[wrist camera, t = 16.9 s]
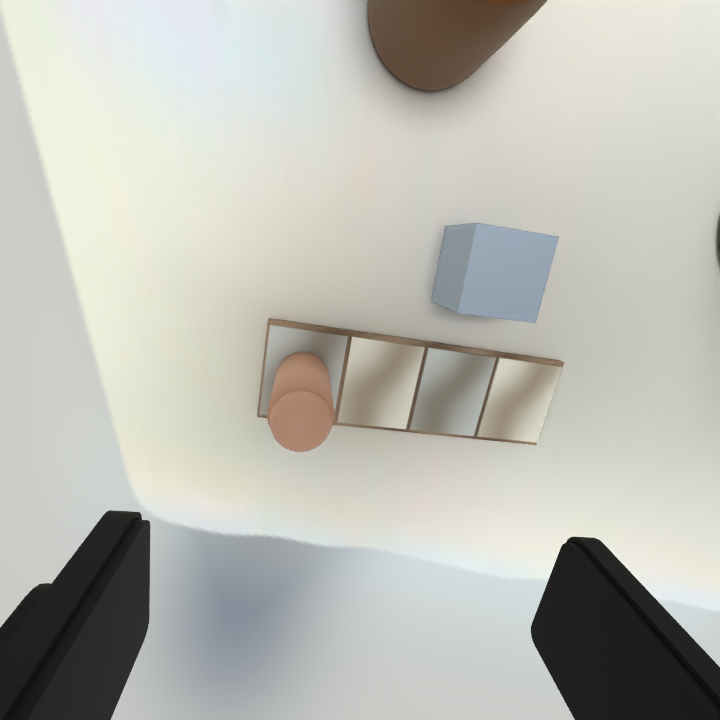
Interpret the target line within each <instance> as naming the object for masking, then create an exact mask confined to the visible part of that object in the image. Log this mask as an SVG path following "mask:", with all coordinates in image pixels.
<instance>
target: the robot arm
mask: <svg viewBox="0 0 720 720" xmlns="http://www.w3.org/2000/svg"><path fill="white" fill-rule="evenodd" d="M149 586H150V522H149V521H148V520H142V517H141V514H140V513H139V512H128V511H108V512H106V513H105V514H104V515H103V517H102V518H101V519H100V521H99V522H98V523H97V525H96V526H95V527H94V529H93V530H92V531H91V532H90V534H89V535H88V537H87V538H86V539H85V540H84V542H83V543H82V544H81V546H80V547H79V548H78V550H77V551H76V552H75V554H74V555H73V556H72V558H71V559H70V560H69V561H68V563H67V564H66V566H65V567H64V568H63V569H62V571H61V572H60V573H59V575H58V576H57V577H56V579H55V580H54V581H53V583H52V584H49V583H47V584H46V583H45V584H39V585H38V586H37V587H35V588H33V589H32V590H31V591H30V592H29V594H28V595H27V596H26V597H25V598H24V599H23V600H22V601H21V603H20V604H19V605H18V606H17V608H16V609H15V610H14V611H13V613H12V614H11V615H10V616H9V618H8V619H7V620H6V621H5V623H4V624H3V625H2V627H1V628H0V720H111V717H112V715H113V712H114V710H115V708H116V705H117V703H118V700H119V698H120V696H121V693H122V691H123V689H124V686H125V684H126V682H127V679H128V677H129V674H130V672H131V670H132V668H133V665H134V663H135V660H136V658H137V656H138V653H139V651H140V648H141V646H142V644H143V641H144V639H145V636H146V632H147V629H148V624H149V588H150V587H149ZM531 635H532V639H533V642H534V644H535V647H536V648H537V650H538V652H539V654H540V656H541V658H542V660H543V661H544V663H545V665H546V667H547V669H548V670H549V673H550V674H551V676H552V678H553V680H554V682H555V683H556V685H557V687H558V689H559V691H560V693H561V695H562V696H563V698H564V700H565V702H566V704H567V706H568V708H569V710H570V711H571V713H572V715H573V717H574V719H575V720H720V667H719V666H718V665H717V664H716V663H715V662H714V661H713V660H712V659H711V658H710V656H709V655H708V654H707V653H706V652H705V651H704V650H703V649H702V648H701V647H700V646H699V645H698V644H697V643H696V642H695V640H694V639H693V638H692V637H691V636H690V635H689V634H688V633H687V632H686V631H685V630H684V629H683V628H682V627H681V626H680V625H679V623H677V621H676V620H675V619H674V618H673V617H672V616H671V615H670V614H669V613H668V612H667V611H666V610H665V609H664V608H663V607H662V605H661V604H660V603H659V602H658V601H657V600H656V599H655V598H654V597H653V596H652V595H651V594H650V593H649V592H648V591H647V589H646V588H645V587H644V586H643V585H642V584H641V583H640V582H639V581H638V580H637V579H636V578H635V577H634V576H633V575H632V574H631V573H630V571H629V570H628V569H627V568H626V567H625V566H624V565H623V564H622V563H621V562H620V561H619V560H618V559H617V558H616V557H615V556H614V554H613V553H612V552H611V551H610V550H609V549H608V548H607V547H606V546H605V545H604V544H603V543H602V542H601V541H600V540H598V539H596V538H586V537H571V538H569V539H568V540H567V542H566V543H565V544H563V545H562V547H561V549H560V552H559V554H558V557H557V560H556V562H555V565H554V567H553V570H552V573H551V575H550V578H549V581H548V583H547V586H546V588H545V591H544V594H543V596H542V599H541V601H540V604H539V607H538V609H537V612H536V615H535V617H534V620H533V622H532V626H531Z"/></svg>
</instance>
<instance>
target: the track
mask: <svg viewBox="0 0 720 720" xmlns="http://www.w3.org/2000/svg"><path fill="white" fill-rule="evenodd" d="M296 352H309V353H313V354H315V355H317V356H318V357H320V358H321V359H322V360H323V361H324V362H325V364H326V366H327V368H328V371H329V378H330V384H331V391H332V398H333V404H334V411H335V417H334V422H333V425H343V426H353V427H363V428H373V429H383V430H393V431H403V432H413V433H423V434H433V435H443V436H453V437H463V438H473V439H483V440H493V441H503V442H513V443H523V444H533V445H536V444H537V442H538V439H539V436H540V433H541V430H542V427H543V424H544V421H545V418H546V415H547V412H548V409H549V406H550V403H551V400H552V397H553V394H554V391H555V388H556V385H557V382H558V379H559V376H560V373H561V370H562V367H563V364H564V363H563V362H561V361H559V360H552V359H545V358H538V357H531V356H525V355H518V354H511V353H504V352H497V351H490V350H483V349H477V348H470V347H463V346H456V345H449V344H442V343H435V342H429V341H422V340H415V339H408V338H401V337H394V336H388V335H381V334H374V333H367V332H360V331H353V330H346V329H340V328H333V327H326V326H319V325H312V324H305V323H299V322H292V321H285V320H278V319H271V318H269V319H268V326H267V335H266V344H265V353H264V361H263V370H262V379H261V388H260V396H259V405H258V414H257V417H262V418H267V412H268V407H269V403H270V398H271V394H272V390H273V385H274V381H275V376H276V372H277V368H278V366H279V364H280V363H281V361H282V360H283V359H284V358H286V357H287V356H288V355H290V354H293V353H296Z"/></svg>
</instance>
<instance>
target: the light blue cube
mask: <svg viewBox="0 0 720 720" xmlns="http://www.w3.org/2000/svg"><path fill="white" fill-rule="evenodd" d="M558 238H559V237H558V236H552V235H546V234H540V233H534V232H528V231H522V230H516V229H510V228H504V227H498V226H492V225H486V224H480V223H472V224H461V225H451V226H445V232H444V237H443V242H442V247H441V252H440V257H439V263H438V268H437V273H436V278H435V283H434V289H433V294H432V299H431V301H433V302H435V303H437V304H439V305H441V306H443V307H445V308H447V309H450V310H452V311H454V312H456V313H459V314H467V315H475V316H483V317H491V318H499V319H507V320H516V321H524V322H532V323H536V319H537V315H538V312H539V308H540V304H541V301H542V297H543V293H544V290H545V286H546V282H547V279H548V275H549V271H550V267H551V264H552V260H553V256H554V253H555V249H556V245H557V242H558Z"/></svg>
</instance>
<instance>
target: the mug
mask: <svg viewBox="0 0 720 720" xmlns="http://www.w3.org/2000/svg"><path fill="white" fill-rule="evenodd" d="M546 1H547V0H368V19H369V27H370V32H371V36H372V39H373V43H374V45H375V48H376V50H377V52H378V54H379V56H380V58H381V59H382V61H383V63H384V64H385V65H386V67H387V68H388V69H389V70H390V71H391V72H392V73H393V74H394V75H395V76H396V77H397V78H398V79H400V80H401V81H402V82H404V83H406V84H408V85H409V86H412V87H415V88H417V89H422V90H431V91H433V90H442V89H445V88H449V87H452V86H454V85H456V84H458V83H460V82H462V81H463V80H465V79H466V78H468V77H469V76H470V75H471V74H473V73H474V72H475V71H476V70H477V69H478V68H479V67H480V66H481V65H482V64H483V63H484V62H485V61H487V60H488V59H489V58H490V57H491V56H492V55H493V54H494V53H495V52H496V51H497V50H498V49H499V48H500V47H502V46H503V45H504V44H505V43H506V42H507V41H508V40H509V39H510V38H511V37H512V36H513V35H514V34H515V33H516V32H517V31H518V30H519V29H520V28H521V27H522V26H523V25H524V24H525V23H526V22H527V21H528V20H529V19H530V18H531V17H532V16H533V15H534V14H535V13H536V12H537V11H538V10H539V9H540V8H541V7H542V6H543V5H544V4H545V3H546Z"/></svg>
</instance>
